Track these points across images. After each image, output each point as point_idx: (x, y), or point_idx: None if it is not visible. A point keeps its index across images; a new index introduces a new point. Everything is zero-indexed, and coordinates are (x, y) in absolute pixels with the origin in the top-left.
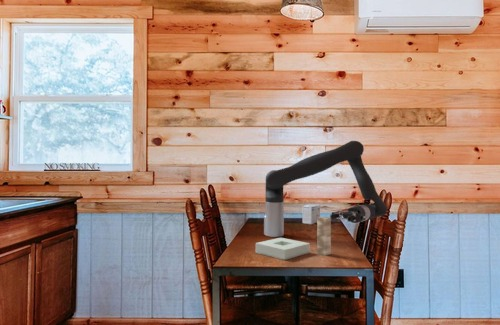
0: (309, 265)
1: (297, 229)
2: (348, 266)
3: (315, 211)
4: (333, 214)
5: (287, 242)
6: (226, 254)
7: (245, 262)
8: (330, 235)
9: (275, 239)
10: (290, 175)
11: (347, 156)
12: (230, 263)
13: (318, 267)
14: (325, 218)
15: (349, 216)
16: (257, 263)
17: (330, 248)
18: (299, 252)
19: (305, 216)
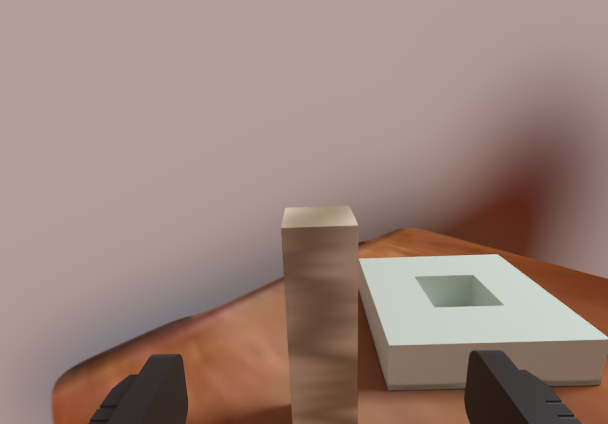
0: (266, 298)
1: None
2: (140, 351)
3: None
4: (494, 380)
5: (467, 308)
6: (501, 251)
7: (401, 247)
8: (288, 345)
9: (552, 305)
10: None
11: None
12: (411, 236)
13: (233, 300)
14: (291, 210)
15: (149, 358)
16: (377, 254)
17: (292, 420)
18: (372, 323)
19: None
